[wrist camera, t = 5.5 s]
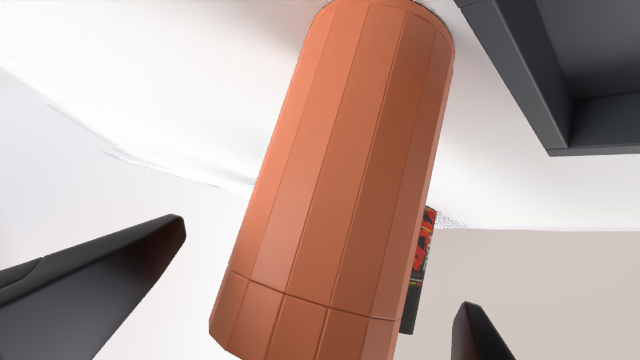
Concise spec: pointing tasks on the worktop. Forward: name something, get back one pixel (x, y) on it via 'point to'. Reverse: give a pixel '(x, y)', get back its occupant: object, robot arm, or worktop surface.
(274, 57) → the worktop surface
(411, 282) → the deodorant
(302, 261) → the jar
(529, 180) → the worktop surface
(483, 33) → the divided grey tray
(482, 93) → the worktop surface
